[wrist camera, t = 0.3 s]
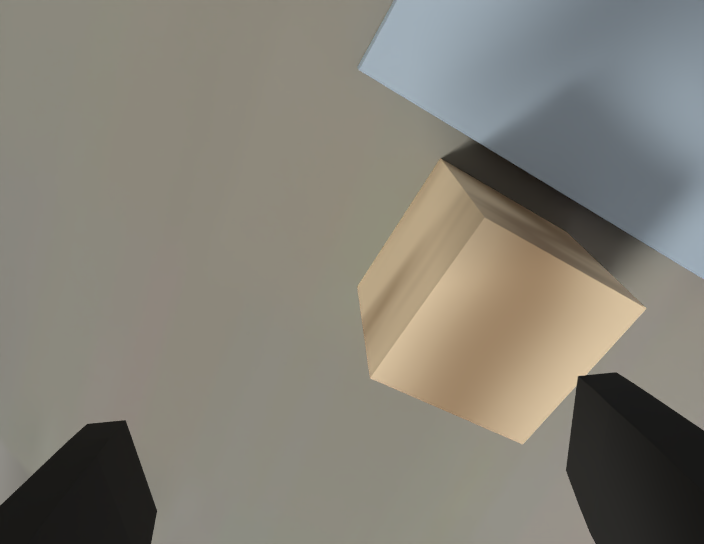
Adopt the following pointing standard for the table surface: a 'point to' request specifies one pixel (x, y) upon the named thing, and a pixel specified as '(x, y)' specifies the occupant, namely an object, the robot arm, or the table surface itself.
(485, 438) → the table surface
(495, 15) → the board
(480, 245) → the oak cube
